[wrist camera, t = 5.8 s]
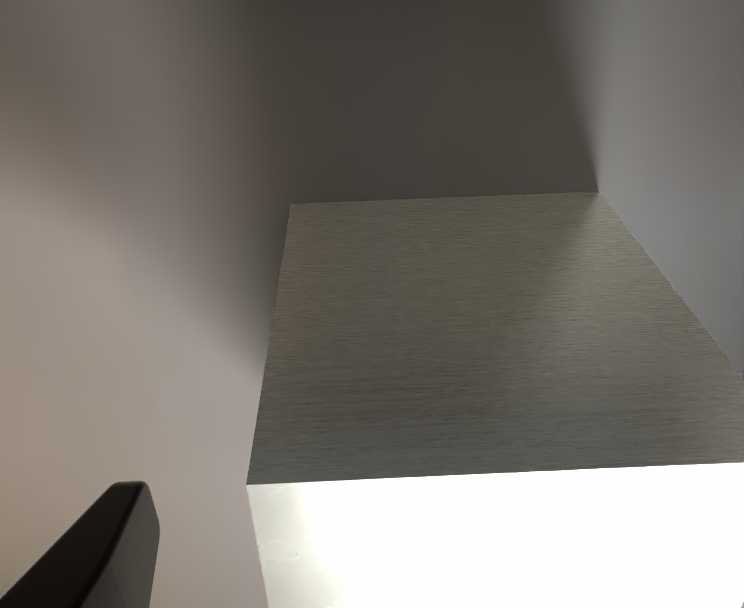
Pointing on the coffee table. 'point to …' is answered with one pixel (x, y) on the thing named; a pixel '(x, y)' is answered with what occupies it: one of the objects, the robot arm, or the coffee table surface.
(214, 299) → the coffee table surface
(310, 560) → the block
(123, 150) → the coffee table surface
